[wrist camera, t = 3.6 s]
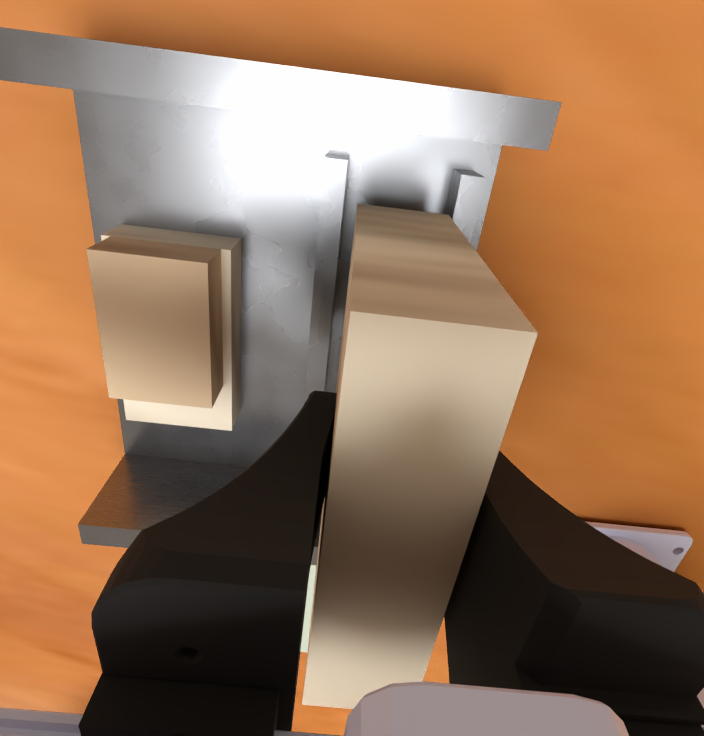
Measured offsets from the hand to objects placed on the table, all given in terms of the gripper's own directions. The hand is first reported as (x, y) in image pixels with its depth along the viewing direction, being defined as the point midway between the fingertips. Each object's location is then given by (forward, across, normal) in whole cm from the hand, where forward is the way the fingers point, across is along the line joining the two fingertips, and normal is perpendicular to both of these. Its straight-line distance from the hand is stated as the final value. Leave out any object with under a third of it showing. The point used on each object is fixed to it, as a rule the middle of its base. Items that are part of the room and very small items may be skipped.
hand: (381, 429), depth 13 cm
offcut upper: (+4, +7, 0) cm, 8 cm away
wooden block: (+4, 0, 0) cm, 4 cm away
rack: (+7, +4, 0) cm, 8 cm away
